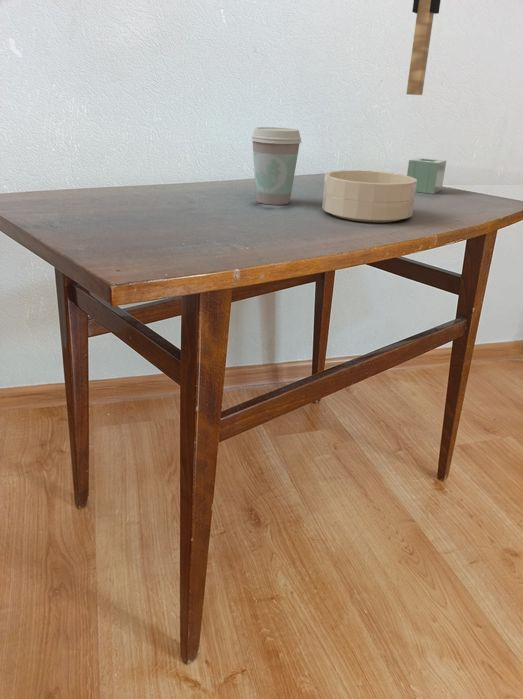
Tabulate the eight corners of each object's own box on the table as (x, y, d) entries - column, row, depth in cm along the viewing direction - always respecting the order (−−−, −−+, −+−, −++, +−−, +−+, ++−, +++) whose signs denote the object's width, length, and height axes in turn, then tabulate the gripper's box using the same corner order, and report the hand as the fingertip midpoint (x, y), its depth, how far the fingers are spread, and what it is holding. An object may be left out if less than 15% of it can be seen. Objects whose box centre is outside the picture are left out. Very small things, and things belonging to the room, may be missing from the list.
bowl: (422, 213, 99) (428, 177, 97) (394, 228, 88) (399, 187, 85) (343, 202, 106) (346, 167, 103) (307, 215, 94) (310, 176, 92)
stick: (422, 94, 103) (443, -56, 94) (418, 94, 101) (439, -59, 92) (410, 94, 104) (430, -55, 95) (406, 94, 102) (426, -57, 93)
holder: (441, 190, 123) (446, 160, 121) (433, 194, 118) (438, 162, 116) (413, 187, 126) (417, 157, 123) (404, 190, 121) (408, 159, 118)
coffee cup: (238, 200, 103) (240, 127, 98) (271, 195, 109) (274, 126, 104) (275, 208, 98) (279, 131, 93) (307, 203, 104) (312, 130, 99)
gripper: (392, -170, 88) (373, 10, 98) (498, -187, 81) (466, 9, 91) (409, -153, 94) (389, 15, 104) (508, -168, 87) (477, 14, 97)
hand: (425, 12), depth 98 cm, fingers closed on stick, 2 cm apart
